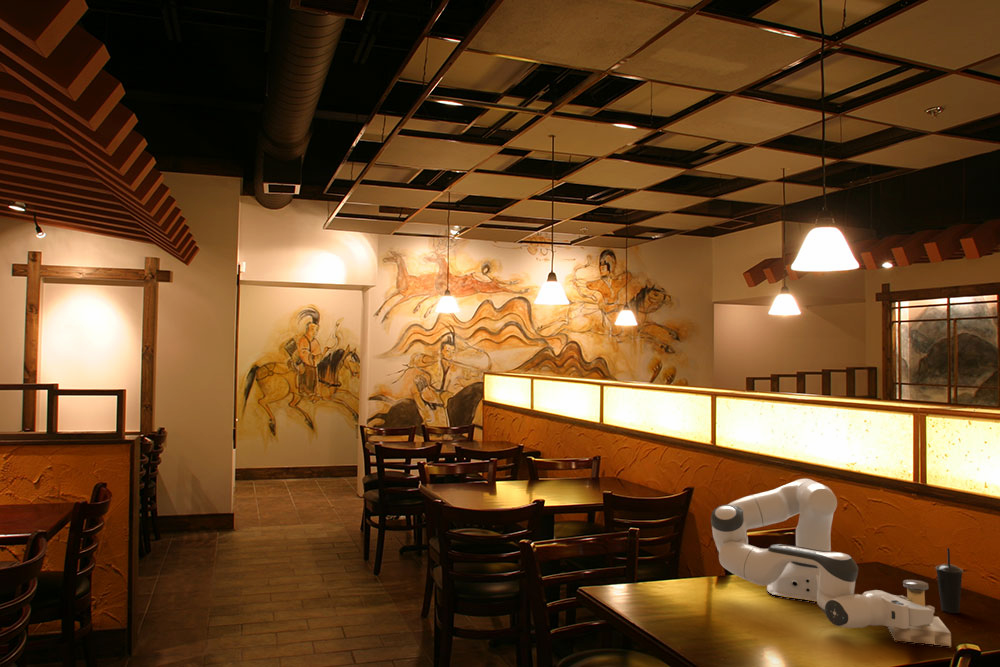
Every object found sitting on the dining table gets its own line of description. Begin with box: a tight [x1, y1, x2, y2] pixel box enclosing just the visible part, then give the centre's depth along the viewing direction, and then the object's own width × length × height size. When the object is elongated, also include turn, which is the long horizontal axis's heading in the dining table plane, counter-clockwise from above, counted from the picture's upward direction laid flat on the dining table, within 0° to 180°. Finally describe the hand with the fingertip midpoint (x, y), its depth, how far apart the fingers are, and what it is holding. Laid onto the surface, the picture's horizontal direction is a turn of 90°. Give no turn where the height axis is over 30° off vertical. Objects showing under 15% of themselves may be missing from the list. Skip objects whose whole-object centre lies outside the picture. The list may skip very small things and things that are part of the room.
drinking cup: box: [935, 547, 964, 614], centre depth 230 cm, size 8×8×20 cm
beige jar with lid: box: [902, 579, 929, 626], centre depth 209 cm, size 6×6×15 cm
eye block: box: [886, 615, 952, 648], centre depth 208 cm, size 14×14×4 cm
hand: (918, 604), depth 209 cm, fingers open, 8 cm apart
